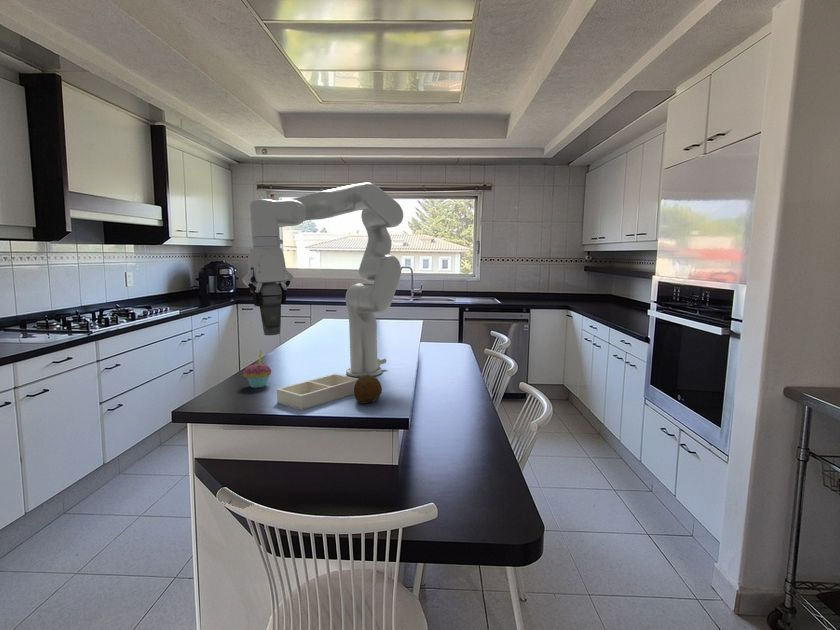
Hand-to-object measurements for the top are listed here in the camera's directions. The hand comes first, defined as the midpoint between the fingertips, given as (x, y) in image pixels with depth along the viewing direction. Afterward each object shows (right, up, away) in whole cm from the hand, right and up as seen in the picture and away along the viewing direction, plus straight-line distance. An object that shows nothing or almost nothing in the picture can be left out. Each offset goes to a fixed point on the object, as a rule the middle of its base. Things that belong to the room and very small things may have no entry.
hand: (270, 304), depth 139 cm
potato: (+29, -28, -4) cm, 41 cm away
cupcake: (-8, -26, +14) cm, 31 cm away
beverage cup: (0, -9, +1) cm, 9 cm away
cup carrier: (+14, -27, +1) cm, 31 cm away
